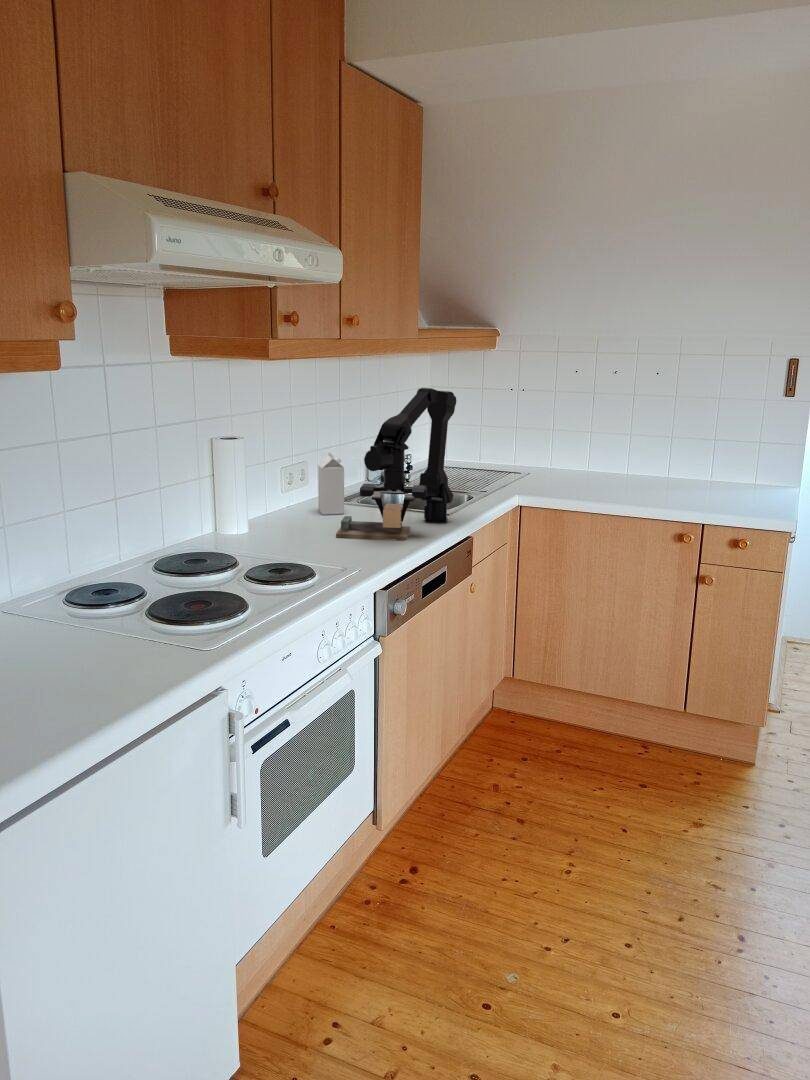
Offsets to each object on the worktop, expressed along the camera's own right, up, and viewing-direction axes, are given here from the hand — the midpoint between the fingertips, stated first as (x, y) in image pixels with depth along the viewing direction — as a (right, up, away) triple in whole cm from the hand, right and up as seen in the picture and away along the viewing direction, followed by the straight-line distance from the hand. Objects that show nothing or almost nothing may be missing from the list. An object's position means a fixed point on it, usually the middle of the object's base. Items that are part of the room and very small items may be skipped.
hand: (393, 520), depth 240 cm
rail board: (-6, -4, +2) cm, 7 cm away
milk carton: (-20, +3, +28) cm, 35 cm away
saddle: (0, -1, 0) cm, 1 cm away
